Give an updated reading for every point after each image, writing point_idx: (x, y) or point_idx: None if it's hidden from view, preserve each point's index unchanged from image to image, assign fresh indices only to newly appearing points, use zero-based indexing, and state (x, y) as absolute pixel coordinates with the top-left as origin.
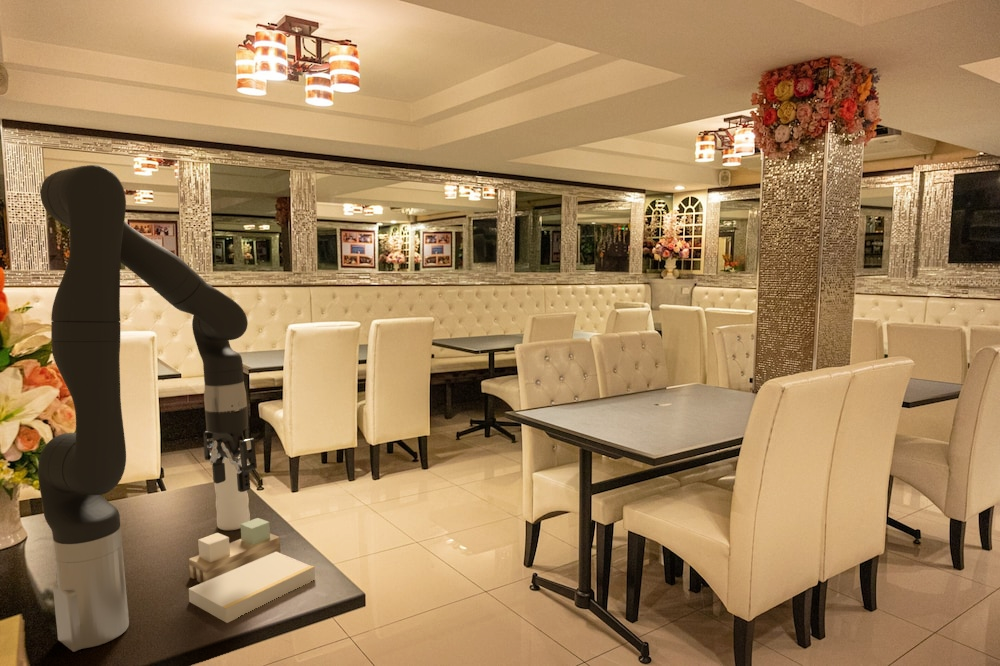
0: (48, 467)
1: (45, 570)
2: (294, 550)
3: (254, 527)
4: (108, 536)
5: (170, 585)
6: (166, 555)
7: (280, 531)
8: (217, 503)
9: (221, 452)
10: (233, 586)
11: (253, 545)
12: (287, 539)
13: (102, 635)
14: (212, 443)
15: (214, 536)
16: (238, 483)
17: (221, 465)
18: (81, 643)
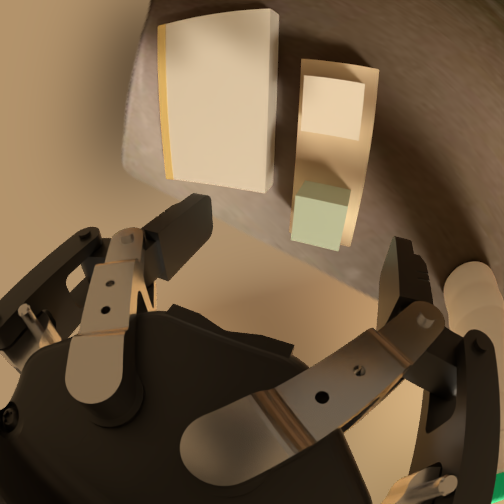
0: None
1: None
2: (288, 235)
3: (295, 202)
4: None
5: (378, 34)
6: (500, 138)
7: (371, 286)
8: (496, 297)
9: (254, 366)
10: (207, 61)
11: (304, 181)
12: (335, 265)
13: None
14: (435, 456)
15: (343, 118)
16: (180, 207)
17: (382, 323)
18: None
